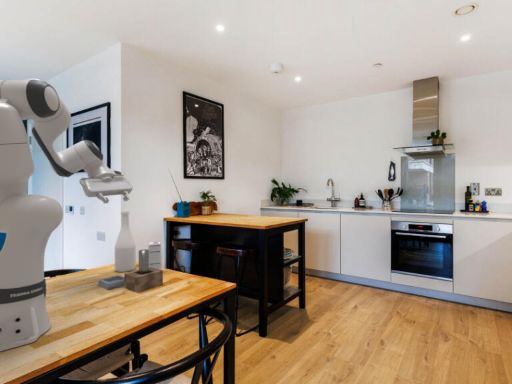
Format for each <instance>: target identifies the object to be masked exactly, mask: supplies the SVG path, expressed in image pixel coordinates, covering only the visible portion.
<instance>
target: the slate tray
mask: <svg viewBox="0 0 512 384" xmlns="http://www.w3.org/2000/svg"><path fill="white" fill-rule="evenodd" d="M97 283H98V284H97V286H98V287H101V288H103V289H105V290H108V291H111V290H115V289H118V288H123V287H124V275H120V274H117V275H113V276H108V277H103V278H99V279H97Z"/></svg>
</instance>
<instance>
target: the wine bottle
mask: <svg viewBox="0 0 512 384" xmlns="http://www.w3.org/2000/svg"><path fill="white" fill-rule="evenodd" d="M120 215H121V225H120V229H119V230H120V231H119V233H118V235H117V239H116V241H115V245H114V271H116V272H118V273H128V272H132V271H135V270H136V265H137V264H136V262H137V261H136V260H137V259H136V256H137V255H136V253H137V252H136V251H137V250H136V243H135V240H134V237H133V234H132V231H131V229H130V221H129V215H130V211H129V209H121V211H120Z"/></svg>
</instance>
